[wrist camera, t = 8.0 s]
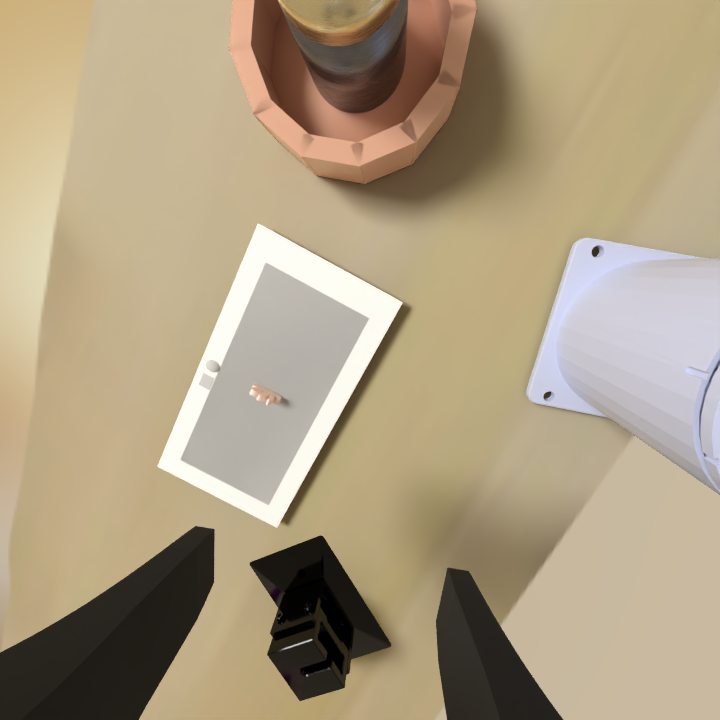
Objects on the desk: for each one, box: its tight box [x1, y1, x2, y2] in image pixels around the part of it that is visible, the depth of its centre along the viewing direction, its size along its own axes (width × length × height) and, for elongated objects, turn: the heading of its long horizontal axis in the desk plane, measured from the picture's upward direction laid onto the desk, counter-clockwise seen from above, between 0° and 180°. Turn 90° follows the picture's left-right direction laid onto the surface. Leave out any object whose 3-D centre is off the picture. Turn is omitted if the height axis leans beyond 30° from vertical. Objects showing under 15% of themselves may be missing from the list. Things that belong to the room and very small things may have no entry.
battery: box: [278, 0, 408, 113], centre depth 12 cm, size 4×4×7 cm
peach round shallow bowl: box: [229, 0, 477, 184], centre depth 14 cm, size 9×9×3 cm
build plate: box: [250, 536, 391, 701], centre depth 22 cm, size 12×7×5 cm, turn 28°
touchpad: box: [157, 224, 403, 528], centre depth 19 cm, size 8×15×2 cm, turn 152°
